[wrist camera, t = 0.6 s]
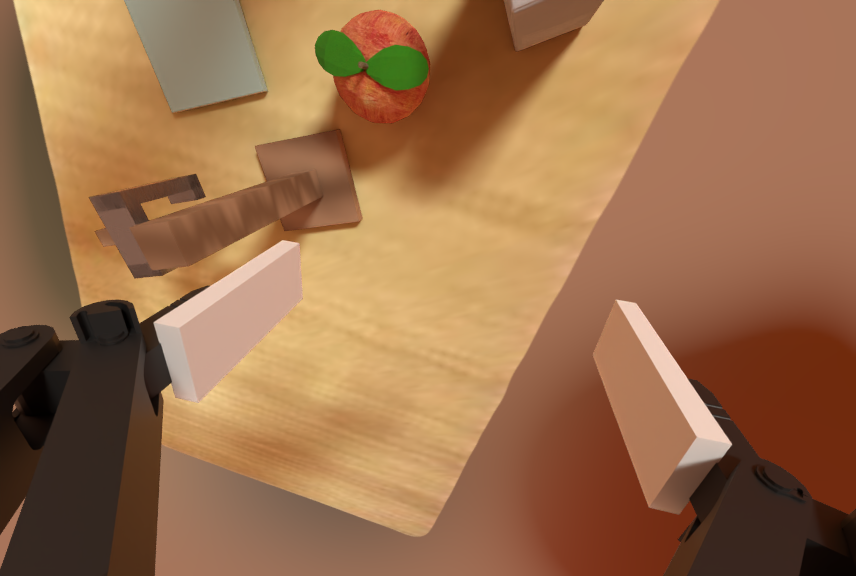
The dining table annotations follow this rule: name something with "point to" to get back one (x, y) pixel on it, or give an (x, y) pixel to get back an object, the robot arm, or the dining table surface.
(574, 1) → the skincare box
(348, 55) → the fruit
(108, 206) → the c link
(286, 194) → the stand
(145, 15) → the coaster
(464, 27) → the dining table surface
